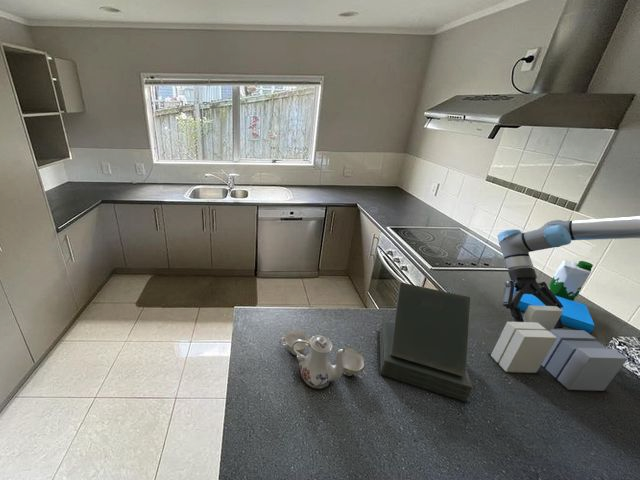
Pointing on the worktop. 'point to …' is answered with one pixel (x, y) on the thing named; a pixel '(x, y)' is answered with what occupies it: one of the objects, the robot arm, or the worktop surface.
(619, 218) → the robot arm
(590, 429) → the worktop surface
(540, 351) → the white books
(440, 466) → the worktop surface
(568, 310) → the book
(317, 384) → the chinaware
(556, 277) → the milk carton
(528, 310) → the thin white book
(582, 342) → the grey books
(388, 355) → the dark grey display stand
